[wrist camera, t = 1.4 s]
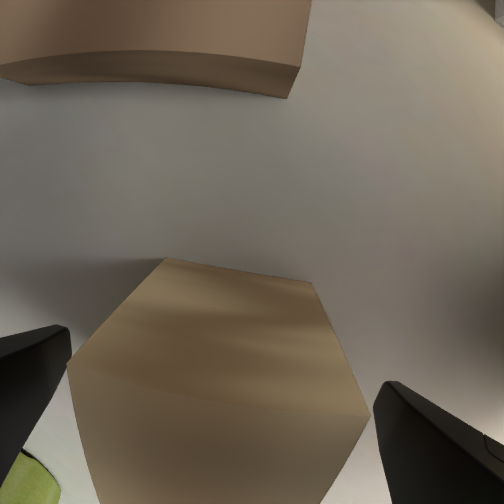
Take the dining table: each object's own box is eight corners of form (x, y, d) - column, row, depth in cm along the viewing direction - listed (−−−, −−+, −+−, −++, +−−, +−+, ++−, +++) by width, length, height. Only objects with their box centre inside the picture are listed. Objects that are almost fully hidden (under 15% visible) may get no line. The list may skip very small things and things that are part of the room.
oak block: (311, 282, 10) (370, 415, 4) (280, 396, 11) (293, 539, 5) (166, 257, 10) (66, 363, 4) (157, 375, 11) (101, 507, 5)
